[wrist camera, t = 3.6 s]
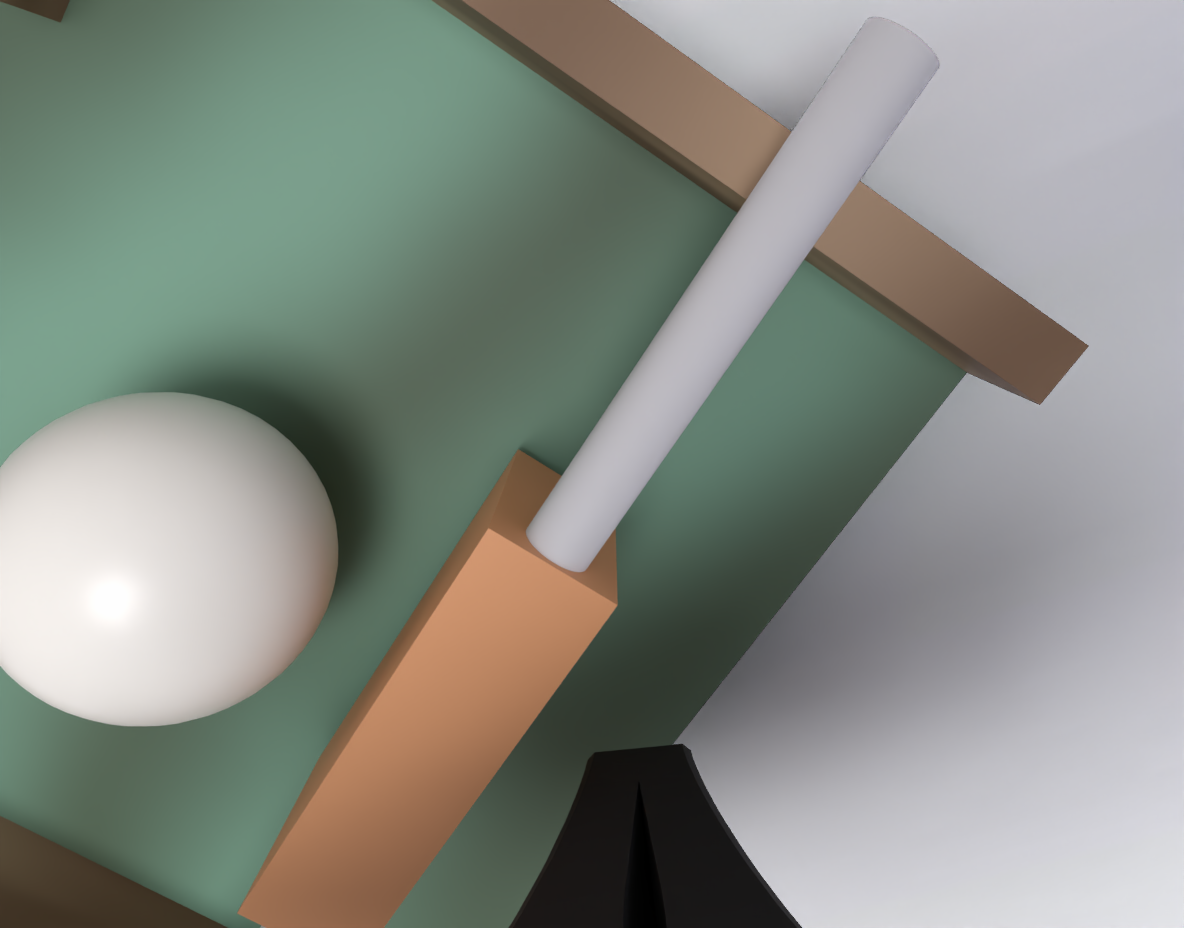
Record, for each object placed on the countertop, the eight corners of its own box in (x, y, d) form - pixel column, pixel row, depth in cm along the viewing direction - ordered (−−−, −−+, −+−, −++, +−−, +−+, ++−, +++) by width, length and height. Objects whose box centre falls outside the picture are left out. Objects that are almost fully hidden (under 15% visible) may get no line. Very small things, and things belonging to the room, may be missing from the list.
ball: (424, 463, 12) (336, 582, 8) (298, 669, 13) (166, 863, 9) (169, 309, 11) (-57, 358, 7) (57, 538, 12) (-193, 685, 8)
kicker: (889, 128, 10) (1023, 87, 7) (201, 1111, 15) (90, 1356, 12) (771, 40, 10) (852, -44, 7) (110, 1071, 15) (-27, 1308, 12)
